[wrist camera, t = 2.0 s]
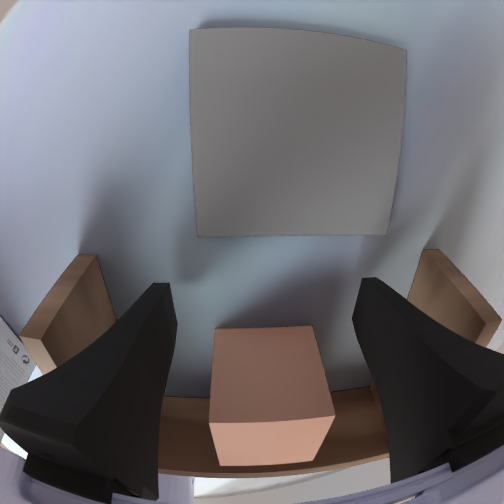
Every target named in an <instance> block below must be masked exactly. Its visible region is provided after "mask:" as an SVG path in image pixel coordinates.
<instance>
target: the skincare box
mask: <svg viewBox="0 0 504 504" xmlns="http://www.w3.org/2000/svg"><path fill="white" fill-rule="evenodd" d="M35 366H36V363H35V362H34V360H33V358H32V357H31V355H30V354H29V352H28V350H27V349H26V347H25V346H24V345H23V343H22V342H21V341H20V340H19V339H18V338H17V336H16V335H15V334H14V333H13V332H12V330H11V329H10V328H9V327H8V325H7V324H6V323H5V322H4V320H3V319H2V318H1V317H0V413H1V411H2V408H3V406H4V404H5V402H6V400H7V397H8V395H9V393H10V391H11V389H14V388H16V387H19V386H21V385H23V384H26V383H27V382H28V380H29V378H30V376H31V374H32V372H33V370H34V368H35ZM4 433H5V432H4V431H3V430H2V429H1V427H0V443H1V440H2V438H3V435H4Z"/></svg>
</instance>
